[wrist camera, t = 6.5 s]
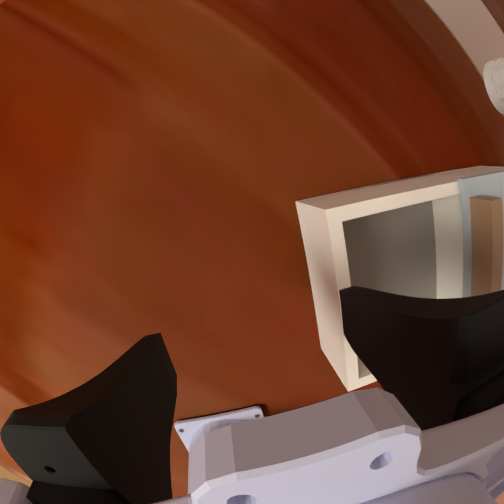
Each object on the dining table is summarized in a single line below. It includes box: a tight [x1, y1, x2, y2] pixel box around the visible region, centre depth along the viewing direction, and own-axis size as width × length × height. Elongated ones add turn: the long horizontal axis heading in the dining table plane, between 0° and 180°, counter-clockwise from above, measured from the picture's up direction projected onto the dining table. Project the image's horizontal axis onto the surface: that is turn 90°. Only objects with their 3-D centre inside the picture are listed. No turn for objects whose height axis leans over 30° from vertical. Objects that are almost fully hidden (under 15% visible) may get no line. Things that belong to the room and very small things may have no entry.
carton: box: [295, 166, 504, 391], centre depth 20 cm, size 12×19×6 cm, turn 103°
